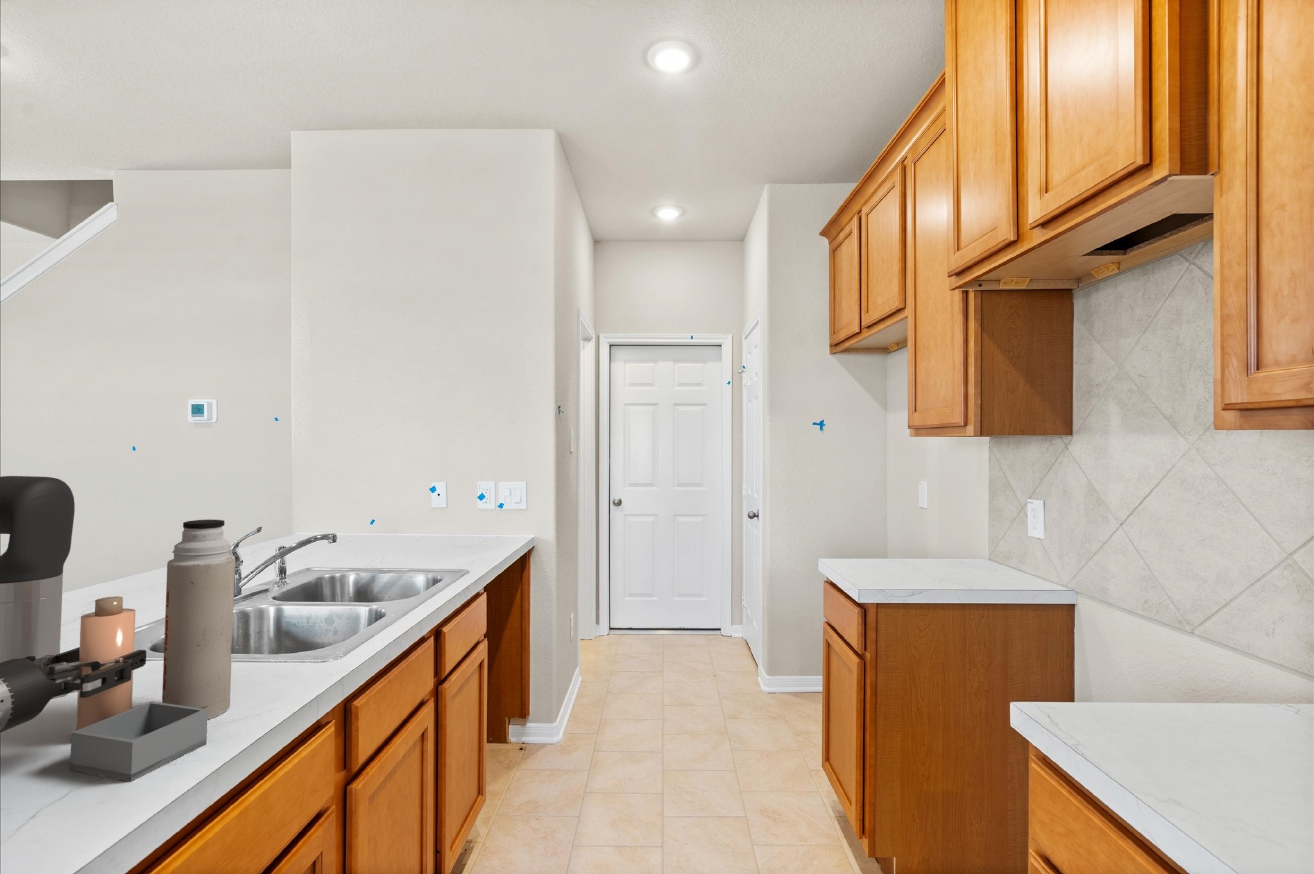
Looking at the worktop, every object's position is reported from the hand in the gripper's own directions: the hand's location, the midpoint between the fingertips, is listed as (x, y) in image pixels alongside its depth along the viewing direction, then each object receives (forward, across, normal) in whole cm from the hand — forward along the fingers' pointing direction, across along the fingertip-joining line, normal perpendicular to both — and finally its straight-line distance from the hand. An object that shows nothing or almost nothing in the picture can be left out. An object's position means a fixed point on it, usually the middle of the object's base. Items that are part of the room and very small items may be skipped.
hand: (113, 655), depth 83 cm
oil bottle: (-1, 0, +10) cm, 10 cm away
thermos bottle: (+6, -7, +10) cm, 14 cm away
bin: (-6, -10, +10) cm, 16 cm away
